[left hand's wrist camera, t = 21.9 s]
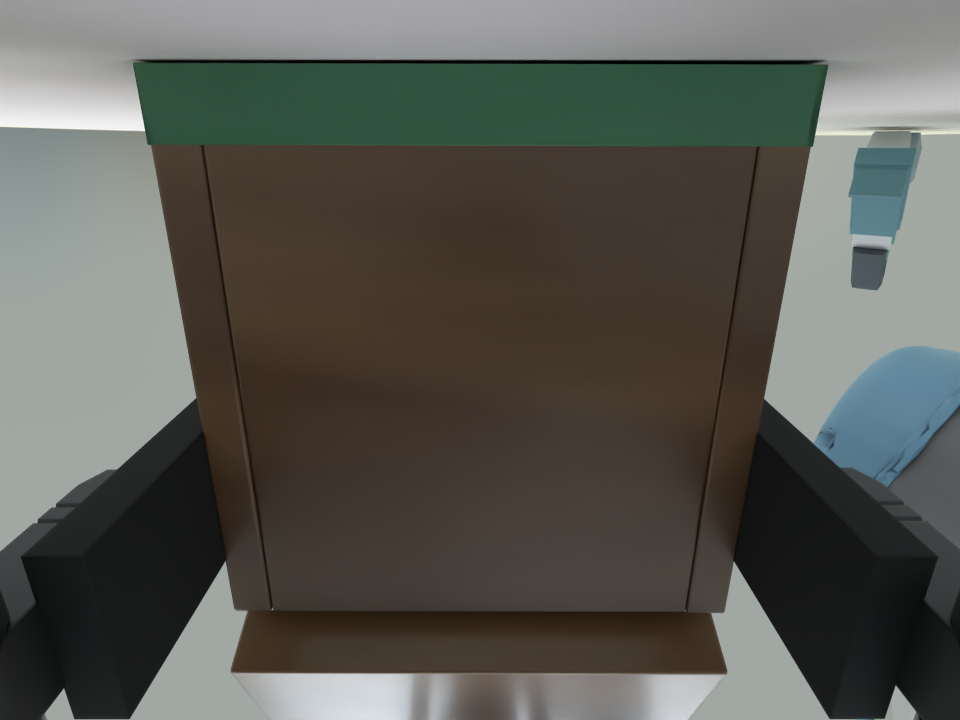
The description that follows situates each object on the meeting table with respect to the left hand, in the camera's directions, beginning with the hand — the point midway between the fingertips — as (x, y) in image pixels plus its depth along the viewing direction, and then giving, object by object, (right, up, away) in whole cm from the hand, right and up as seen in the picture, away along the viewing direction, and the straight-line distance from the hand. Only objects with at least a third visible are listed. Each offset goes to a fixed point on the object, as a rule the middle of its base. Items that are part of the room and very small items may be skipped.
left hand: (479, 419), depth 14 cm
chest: (0, +8, +2) cm, 8 cm away
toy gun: (+32, +19, +32) cm, 49 cm away
